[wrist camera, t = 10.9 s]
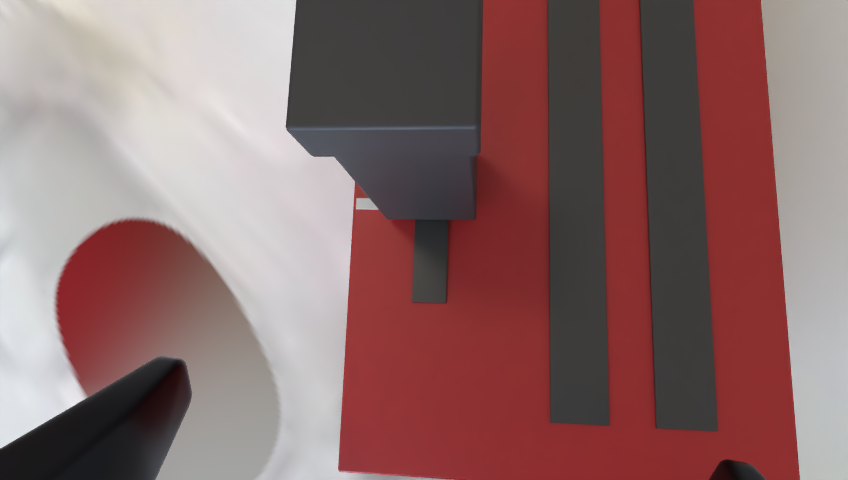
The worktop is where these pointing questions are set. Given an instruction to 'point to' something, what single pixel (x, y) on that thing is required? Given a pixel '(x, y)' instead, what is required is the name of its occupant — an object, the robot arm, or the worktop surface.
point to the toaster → (586, 264)
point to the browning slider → (393, 99)
